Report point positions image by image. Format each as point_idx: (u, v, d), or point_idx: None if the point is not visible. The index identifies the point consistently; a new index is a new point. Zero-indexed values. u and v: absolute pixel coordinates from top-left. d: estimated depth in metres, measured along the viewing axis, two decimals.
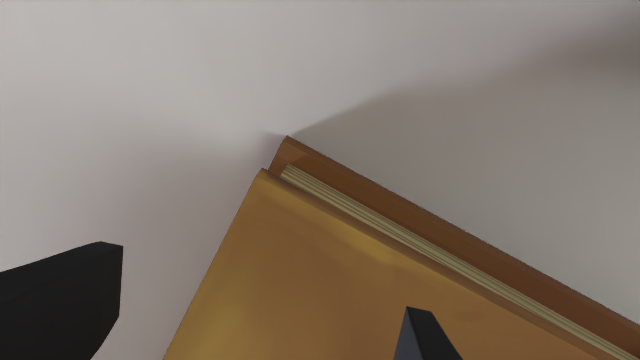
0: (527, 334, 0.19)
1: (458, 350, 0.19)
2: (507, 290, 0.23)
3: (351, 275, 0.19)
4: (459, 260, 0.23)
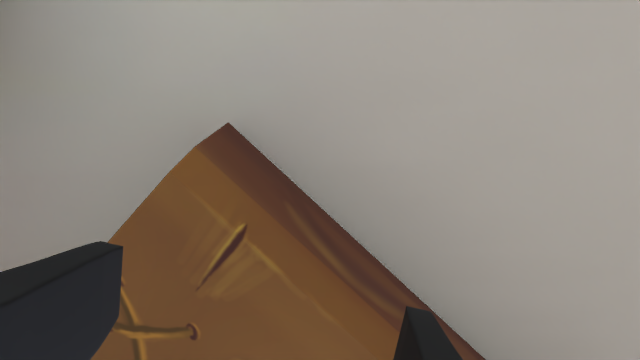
0: None
1: None
2: None
3: None
4: None
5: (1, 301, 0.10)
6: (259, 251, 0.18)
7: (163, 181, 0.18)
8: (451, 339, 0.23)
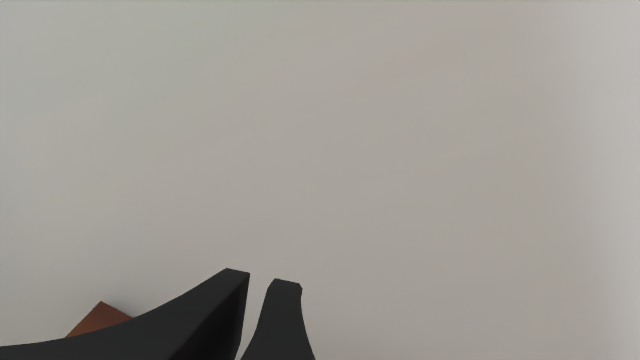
0: None
1: None
2: None
3: None
4: None
5: (179, 340, 0.10)
6: None
7: None
8: None
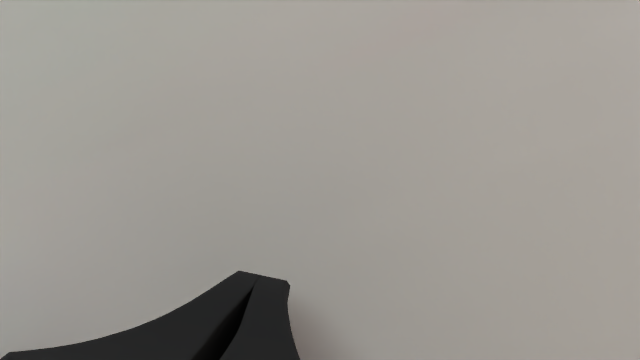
0: None
1: None
2: None
3: None
4: None
5: (197, 344, 0.10)
6: None
7: None
8: None
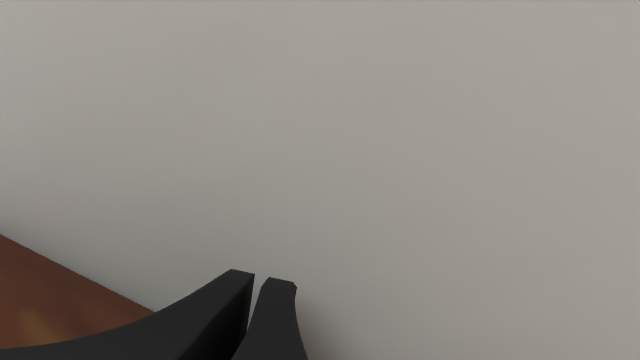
0: None
1: None
2: None
3: None
4: None
5: (186, 342, 0.10)
6: None
7: None
8: None
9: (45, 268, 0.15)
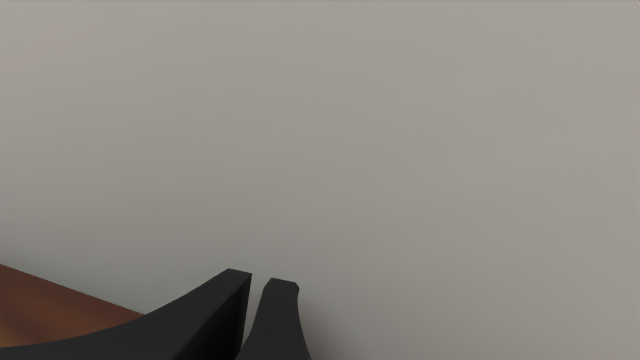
0: None
1: None
2: None
3: None
4: None
5: (182, 341, 0.10)
6: None
7: None
8: None
9: None
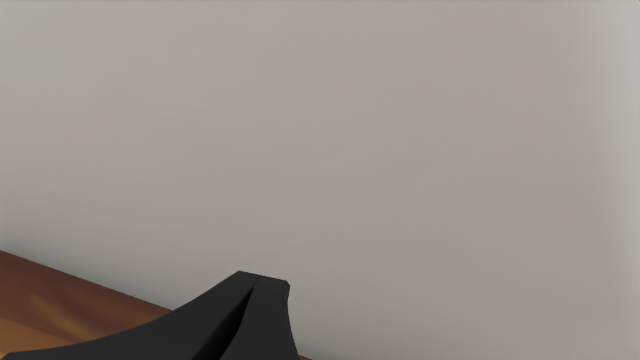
0: None
1: None
2: None
3: None
4: None
5: (197, 344, 0.10)
6: None
7: None
8: None
9: (43, 271, 0.24)
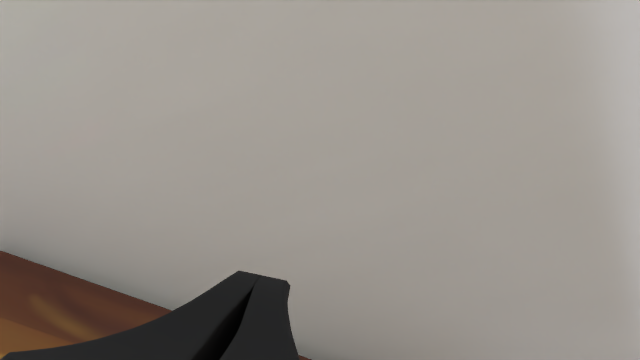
0: None
1: None
2: None
3: None
4: None
5: (197, 344, 0.10)
6: None
7: None
8: None
9: (43, 271, 0.24)
